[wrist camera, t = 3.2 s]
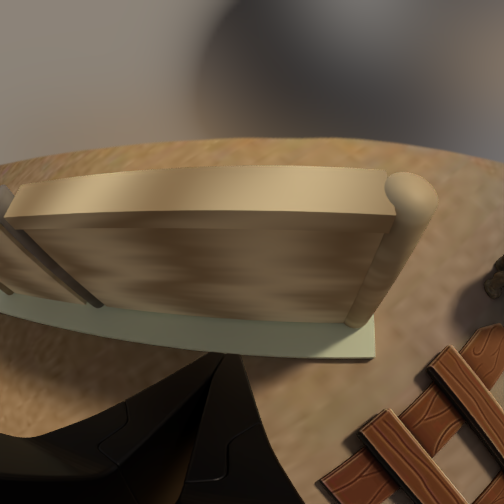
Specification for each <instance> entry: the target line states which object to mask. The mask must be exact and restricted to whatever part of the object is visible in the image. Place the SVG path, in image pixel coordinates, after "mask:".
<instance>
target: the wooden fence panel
mask: <svg viewBox="0 0 504 504" xmlns="http://www.w3.org/2000/svg"><path fill="white" fill-rule="evenodd" d="M14 197H15V196H14V195H13V194H12V192H11V191H10V190H9V189H8V187H7V186H6V185H1V186H0V290H2V291H3V292H4V293H6V294H7V295H12V294H13V293H14V292H15V293H17V294H22V295H28V296H33V297H39V298H45V299H50V300H56V301H63V302H69V303H75V304H82V305H86V303H87V302H88V303H90V304H91V305H92V306H93V307H95V308H101V307H103V306H104V304H103V303H102V302H101V301H99V300H98V299H97V298H96V297H95V296H94V295H92V294H91V293H90V292H89V291H88V290H87V289H85V288H84V287H83V286H82V285H81V284H80V283H78V282H77V281H76V280H75V279H74V278H73V277H72V276H71V275H70V274H68V273H67V272H66V271H65V270H64V269H63V268H62V267H61V266H60V265H59V264H58V263H57V262H55V261H54V260H53V259H52V258H51V257H50V256H49V255H48V254H47V253H46V252H45V251H44V250H43V249H42V248H41V247H40V246H39V245H38V244H37V243H36V242H35V241H34V240H33V239H32V238H31V237H30V236H29V235H28V234H27V233H26V232H25V231H24V230H23V229H16V230H15V229H14V228H13V227H12V226H11V225H10V224H9V223H8V222H7V221H6V220H5V219H4V216H5V214H6V212H7V210H8V208H9V206H10V204H11V202H12V201H13V199H14Z"/></svg>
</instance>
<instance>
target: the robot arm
mask: <svg viewBox="0 0 504 504" xmlns="http://www.w3.org/2000/svg"><path fill="white" fill-rule="evenodd" d="M0 504H305V503H304V501H303V500H302V498H301V497H300V495H299V494H298V492H297V491H296V489H295V487H294V486H293V484H292V483H291V481H290V479H289V478H288V476H287V474H286V473H285V471H284V469H283V468H282V466H281V464H280V463H279V461H278V459H277V457H276V455H275V453H274V451H273V449H272V447H271V445H270V443H269V440H268V438H267V435H266V432H265V429H264V426H263V424H262V421H261V418H260V415H259V412H258V409H257V406H256V402H255V399H254V396H253V393H252V390H251V387H250V384H249V380H248V377H247V374H246V371H245V368H244V364H243V361H242V358H241V355H240V354H233V353H226V354H224V353H221V352H209V353H208V354H206V355H204V356H203V357H201V358H199V359H198V360H196V361H194V362H192V363H191V364H189V365H187V366H186V367H184V368H182V369H180V370H179V371H177V372H175V373H173V374H172V375H170V376H168V377H166V378H165V379H163V380H161V381H159V382H158V383H156V384H154V385H152V386H150V387H149V388H147V389H145V390H143V391H141V392H139V393H138V394H136V395H134V396H132V397H130V398H128V399H126V400H125V402H124V401H123V402H121V403H119V404H117V405H115V406H113V407H111V408H109V409H107V410H105V411H103V412H101V413H99V414H97V415H94V416H92V417H89V418H87V419H85V420H82V421H80V422H77V423H74V424H72V425H69V426H66V427H63V428H61V429H58V430H55V431H52V432H50V433H47V434H44V435H40V436H37V437H31V438H21V437H14V436H10V435H6V434H2V433H0Z"/></svg>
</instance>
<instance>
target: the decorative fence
mask: <svg viewBox="0 0 504 504" xmlns="http://www.w3.org/2000/svg"><path fill="white" fill-rule="evenodd" d="M503 371H504V327H503V326H502V325H501V324H500V323H497V324H493V325H490V326H486V327H482V328H479V329H478V330H476V332H475V333H474V334H473V335H472V337H471V338H470V339H469V341H468V342H467V343H466V344H465V346H464V347H463V348H462V349H461V351H460V352H459V353H458V352H457V350H456V349H455V348H454V347H453V346H452V345H448V346H446V347H445V348H444V349H443V350H442V351H441V352H440V354H439V355H438V356H437V357H436V358H435V359H434V360H433V361H432V362H431V363H430V365H429V366H428V367H427V373H428V374H429V375H430V376H431V377H432V379H433V380H434V382H433V383H432V384H431V385H430V386H429V387H428V388H427V389H426V390H425V391H424V392H423V393H422V394H421V395H420V396H419V397H418V398H417V399H416V400H415V401H414V402H413V403H412V404H411V405H410V406H409V407H408V408H407V409H406V410H405V411H404V412H403V413H402V414H401V415H400V416H399V417H397V416H396V415H395V414H394V412H393V411H392V410H391V409H383V410H382V411H381V412H380V413H379V414H378V415H377V416H376V417H374V418H373V419H372V420H371V421H370V422H369V423H367V424H366V425H365V426H364V427H363V428H361V429H360V430H359V431H358V434H357V436H358V437H359V438H360V439H361V441H362V442H363V443H364V444H365V446H364V447H363V448H362V449H361V450H359V451H358V452H357V453H355V454H354V455H353V456H352V457H350V458H349V459H348V460H346V461H345V462H344V463H342V464H341V465H340V466H338V467H337V468H336V469H334V470H333V471H332V472H330V473H329V474H327V475H326V476H324V477H323V478H322V479H320V483H321V484H322V485H323V486H324V488H325V489H326V490H327V491H328V492H329V493H330V495H331V496H332V497H333V498H334V499H335V500H336V501H337V503H338V504H381V503H382V502H384V501H385V500H386V499H387V498H388V497H390V496H391V495H392V494H393V493H395V492H396V491H397V490H398V489H399V488H400V487H401V488H402V489H403V490H404V491H405V492H406V493H407V495H408V496H409V497H410V498H411V499H412V500H413V501H414V503H415V504H469V503H468V502H467V501H466V500H465V499H464V497H463V496H462V495H461V494H460V492H459V491H458V490H457V489H456V488H455V486H454V485H453V484H452V483H451V481H450V480H449V479H448V478H447V477H446V475H445V474H444V473H443V472H442V470H441V469H440V468H439V467H438V466H437V464H436V463H435V462H434V461H433V460H432V458H433V457H434V456H435V455H436V454H437V453H438V452H439V451H440V450H441V449H442V448H443V446H444V445H445V444H446V443H447V442H448V441H449V440H450V439H451V438H452V437H453V436H454V434H455V433H456V432H457V431H458V430H459V429H460V428H461V426H462V425H463V424H464V423H465V422H466V421H467V422H468V423H469V425H470V426H471V427H472V429H473V430H474V431H475V433H476V434H477V435H478V436H479V438H480V439H481V440H482V442H483V443H484V444H485V446H486V447H487V448H488V450H489V451H490V452H491V454H492V455H493V456H494V458H495V459H496V460H497V462H498V463H499V465H500V466H501V467H502V469H501V470H500V472H499V473H498V474H497V476H496V477H495V478H494V479H493V480H492V482H491V483H490V484H489V485H488V486H487V487H486V489H485V490H484V491H483V492H482V493H481V494H480V495H479V497H478V498H477V499H476V500H475V501H474V502H473V503H472V504H504V411H503V409H502V408H501V406H500V405H499V404H498V402H497V401H496V400H495V398H494V397H493V396H492V394H491V393H490V392H489V391H490V390H491V388H492V387H493V386H494V384H495V383H496V381H497V380H498V379H499V377H500V376H501V374H502V373H503Z"/></svg>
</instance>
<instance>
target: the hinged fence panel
mask: <svg viewBox="0 0 504 504" xmlns="http://www.w3.org/2000/svg"><path fill="white" fill-rule="evenodd" d="M437 206H438V196H437V193H436V191H435V189H434V188H433V186H432V185H431V184H430V183H429V182H428V181H427V180H425V179H424V178H422V177H420V176H419V175H416V174H413V173H410V172H397V173H394V174H392V175H390V176H389V177H387V173H386V170H376V169H361V168H343V167H319V166H210V167H186V168H168V169H153V170H139V171H127V172H116V173H106V174H97V175H88V176H79V177H71V178H64V179H57V180H50V181H43V182H36V183H30V184H24V185H21V186H20V188H19V190H18V192H17V193H16V195H15V197H14V199H13V201H12V202H11V204H10V206H9V208H8V210H7V212H6V214H5V216H4V219H5V220H6V221H7V222H8V223H9V224H10V225H11V226H12V227H13V228H14V229H15V230H16V229H23V230H24V231H25V232H26V233H27V234H28V235H29V236H30V237H31V238H32V239H33V240H34V241H35V242H36V243H37V244H38V245H39V246H40V247H41V248H42V249H43V250H44V251H45V252H46V253H47V254H48V255H49V256H50V257H51V258H52V259H53V260H54V261H55V262H57V263H58V264H59V265H60V266H61V267H62V268H63V269H64V270H65V271H66V272H67V273H68V274H70V275H71V276H72V277H73V278H74V279H75V280H76V281H77V282H78V283H80V284H81V285H82V286H83V287H84V288H85V289H87V290H88V291H89V292H90V293H91V294H92V295H94V296H95V297H96V298H97V299H98V300H99V301H101V302H102V303H103V304H104V305H105V306H107V307H114V308H122V309H130V310H139V311H148V312H157V313H167V314H177V315H188V316H200V317H213V318H226V319H242V320H259V321H280V322H308V323H344V324H345V325H346V326H348V327H350V328H360V327H363V326H364V325H366V324H367V322H368V321H369V319H370V318H371V317H372V315H373V314H374V312H375V311H376V309H377V308H378V306H379V305H380V303H381V302H382V300H383V299H384V297H385V296H386V294H387V293H388V291H389V290H390V288H391V286H392V285H393V283H394V282H395V280H396V279H397V277H398V275H399V274H400V272H401V270H402V269H403V267H404V266H405V264H406V262H407V261H408V259H409V257H410V256H411V254H412V252H413V250H414V249H415V247H416V245H417V244H418V242H419V240H420V238H421V236H422V235H423V233H424V231H425V229H426V227H427V226H428V224H429V222H430V220H431V218H432V216H433V214H434V213H435V211H436V209H437Z"/></svg>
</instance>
